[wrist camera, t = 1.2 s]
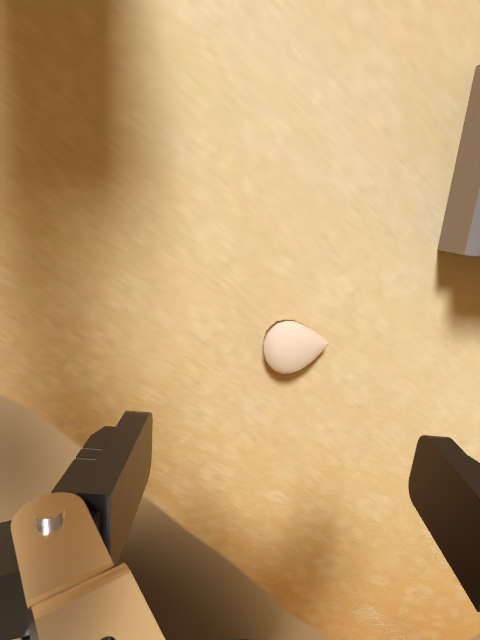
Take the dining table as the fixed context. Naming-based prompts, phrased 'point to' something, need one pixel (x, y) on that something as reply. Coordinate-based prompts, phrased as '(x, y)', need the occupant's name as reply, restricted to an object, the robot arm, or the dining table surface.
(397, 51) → the dining table surface
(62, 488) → the robot arm
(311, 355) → the pistachio nut
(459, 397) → the dining table surface
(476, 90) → the tower base block
